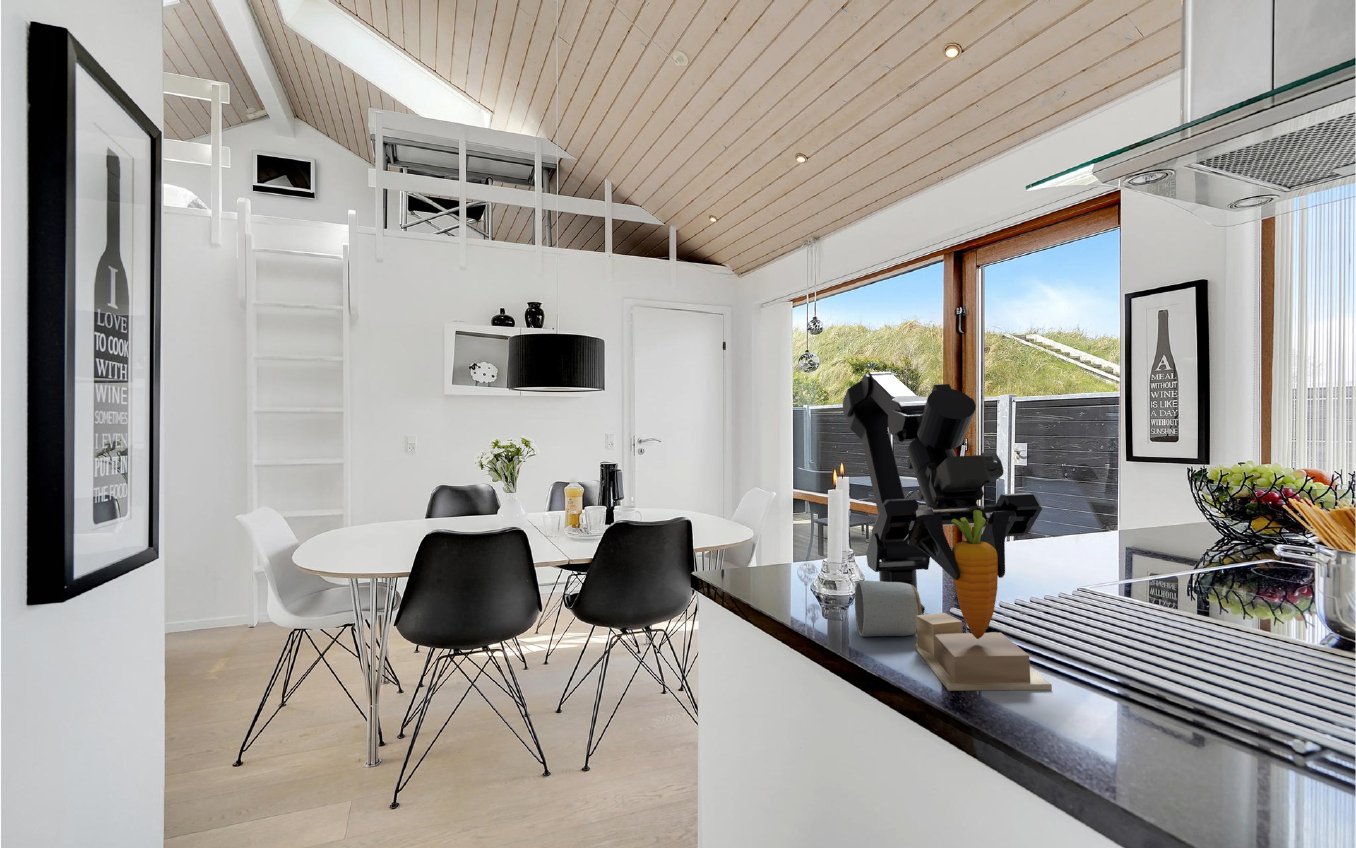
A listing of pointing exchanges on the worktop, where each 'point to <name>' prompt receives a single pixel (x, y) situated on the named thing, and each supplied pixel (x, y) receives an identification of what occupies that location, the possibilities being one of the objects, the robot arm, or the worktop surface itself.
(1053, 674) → the worktop surface
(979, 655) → the light brown square block
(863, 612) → the grey cylinder on side
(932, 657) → the birch board
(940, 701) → the worktop surface
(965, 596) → the carrot
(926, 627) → the oak cube
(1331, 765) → the worktop surface
